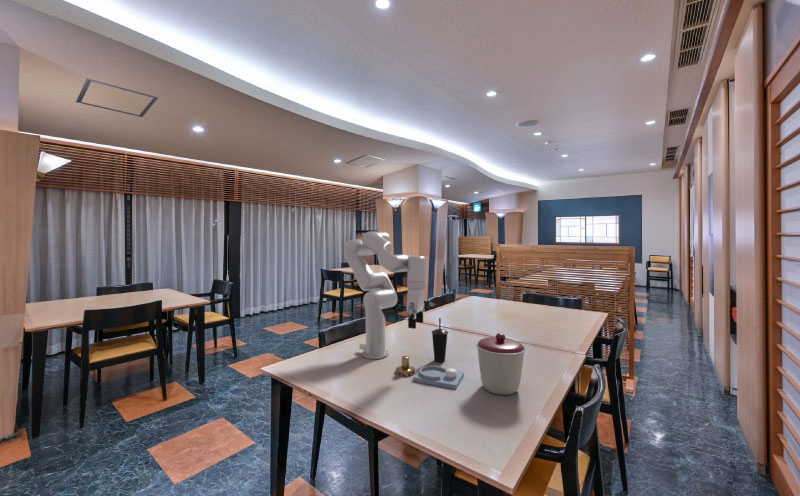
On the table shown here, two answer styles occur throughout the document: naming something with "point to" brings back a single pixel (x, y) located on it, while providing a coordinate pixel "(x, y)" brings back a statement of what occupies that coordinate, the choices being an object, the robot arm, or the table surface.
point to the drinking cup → (439, 343)
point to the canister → (500, 363)
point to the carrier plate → (439, 376)
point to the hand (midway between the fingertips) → (415, 325)
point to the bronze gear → (405, 367)
